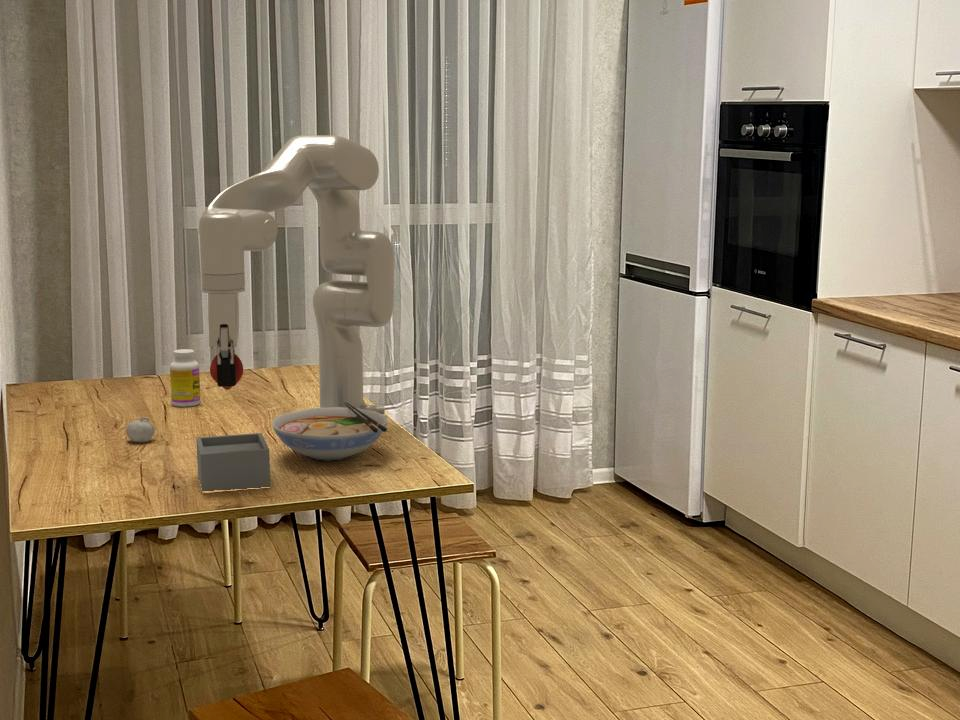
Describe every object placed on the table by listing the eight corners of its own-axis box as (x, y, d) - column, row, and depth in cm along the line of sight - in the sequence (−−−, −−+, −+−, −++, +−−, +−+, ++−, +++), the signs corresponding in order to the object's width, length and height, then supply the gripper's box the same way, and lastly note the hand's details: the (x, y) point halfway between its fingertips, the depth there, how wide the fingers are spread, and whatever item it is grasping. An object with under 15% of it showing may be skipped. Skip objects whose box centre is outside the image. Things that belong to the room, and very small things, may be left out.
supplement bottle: (196, 407, 262) (194, 353, 259) (168, 407, 262) (165, 353, 260) (203, 401, 269) (201, 348, 266) (176, 400, 269) (173, 348, 266)
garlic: (161, 439, 235) (160, 415, 234) (147, 445, 230) (145, 421, 229) (135, 437, 237) (134, 413, 236) (121, 443, 231) (119, 419, 230)
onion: (230, 384, 208) (228, 342, 206) (250, 389, 204) (248, 345, 202) (204, 389, 203) (202, 346, 202) (224, 394, 200) (222, 350, 198)
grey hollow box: (262, 470, 214) (261, 432, 212) (270, 489, 203) (269, 449, 201) (198, 476, 210) (196, 437, 209) (202, 495, 199) (200, 454, 198)
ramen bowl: (261, 445, 230) (260, 406, 229) (370, 436, 238) (369, 398, 237) (285, 480, 207) (284, 437, 206) (404, 468, 215) (404, 426, 214)
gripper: (204, 277, 207) (208, 373, 211) (199, 289, 191) (203, 393, 194) (245, 276, 209) (249, 371, 212) (244, 289, 192) (247, 391, 196)
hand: (227, 381), depth 203 cm, fingers closed on onion, 5 cm apart
